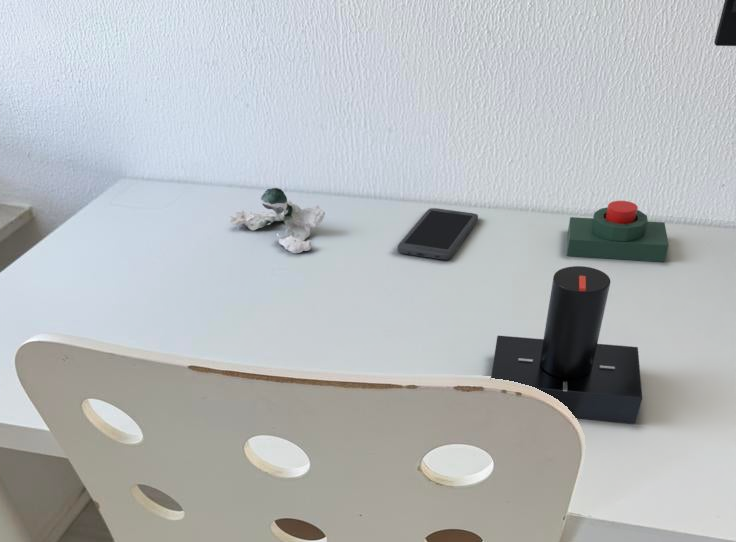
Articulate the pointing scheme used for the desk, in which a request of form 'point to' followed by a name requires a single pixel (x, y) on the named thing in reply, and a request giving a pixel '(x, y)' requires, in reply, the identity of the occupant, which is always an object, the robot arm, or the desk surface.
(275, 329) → the desk surface
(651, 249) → the button block
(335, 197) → the desk surface
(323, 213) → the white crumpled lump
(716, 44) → the robot arm
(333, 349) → the desk surface
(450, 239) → the cell phone
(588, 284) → the knob
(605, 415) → the black base block
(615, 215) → the button
